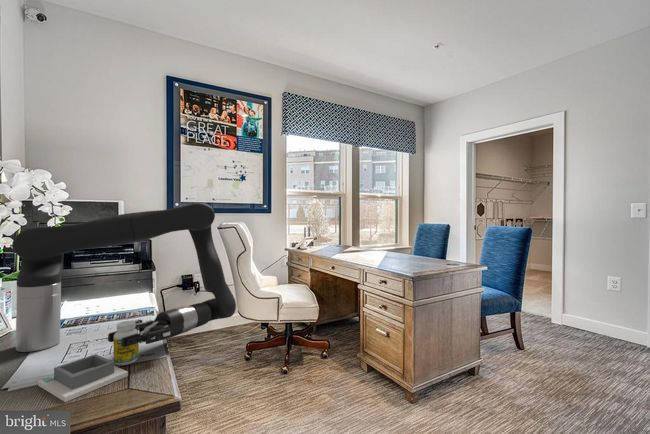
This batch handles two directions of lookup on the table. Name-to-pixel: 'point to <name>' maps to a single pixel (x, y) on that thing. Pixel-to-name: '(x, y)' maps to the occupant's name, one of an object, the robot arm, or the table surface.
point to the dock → (81, 377)
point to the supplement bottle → (130, 352)
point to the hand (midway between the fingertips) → (115, 340)
